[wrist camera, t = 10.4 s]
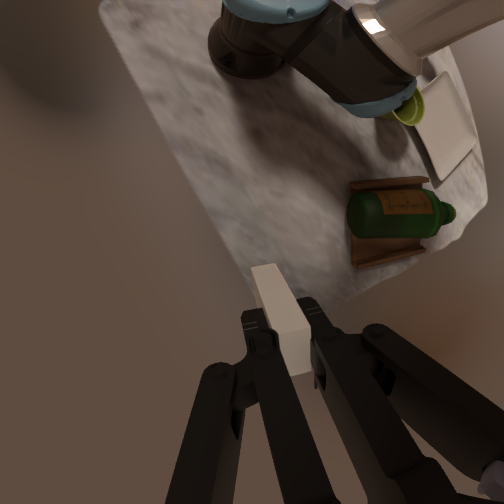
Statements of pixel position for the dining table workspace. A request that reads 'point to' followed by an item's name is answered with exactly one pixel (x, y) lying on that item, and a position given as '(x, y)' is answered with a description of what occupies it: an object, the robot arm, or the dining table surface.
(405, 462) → the robot arm
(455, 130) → the salad plate
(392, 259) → the cradle
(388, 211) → the bottle
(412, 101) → the plant pot
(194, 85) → the dining table surface
